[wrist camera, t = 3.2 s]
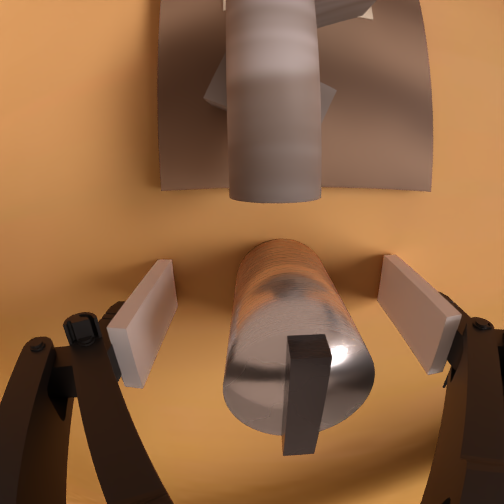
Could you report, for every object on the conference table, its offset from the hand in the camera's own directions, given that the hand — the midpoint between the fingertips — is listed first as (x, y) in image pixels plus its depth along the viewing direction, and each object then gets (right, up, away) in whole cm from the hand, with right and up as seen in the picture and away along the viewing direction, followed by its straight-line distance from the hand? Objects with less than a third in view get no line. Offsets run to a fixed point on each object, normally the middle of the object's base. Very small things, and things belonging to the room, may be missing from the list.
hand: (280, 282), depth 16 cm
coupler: (0, 0, 0) cm, 0 cm away
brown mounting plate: (+1, +15, -5) cm, 16 cm away
